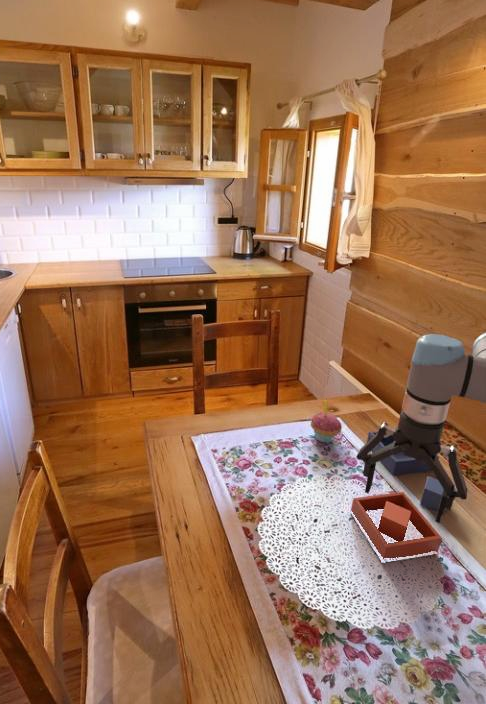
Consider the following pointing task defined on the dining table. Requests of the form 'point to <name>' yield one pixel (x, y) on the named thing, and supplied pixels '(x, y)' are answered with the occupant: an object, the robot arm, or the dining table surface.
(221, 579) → the dining table surface
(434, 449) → the robot arm
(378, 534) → the terracotta bin
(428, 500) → the slate block
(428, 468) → the slate bin
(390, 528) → the terracotta block
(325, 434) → the cupcake
